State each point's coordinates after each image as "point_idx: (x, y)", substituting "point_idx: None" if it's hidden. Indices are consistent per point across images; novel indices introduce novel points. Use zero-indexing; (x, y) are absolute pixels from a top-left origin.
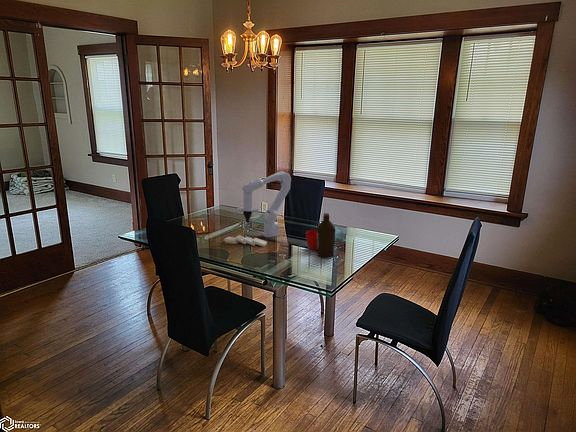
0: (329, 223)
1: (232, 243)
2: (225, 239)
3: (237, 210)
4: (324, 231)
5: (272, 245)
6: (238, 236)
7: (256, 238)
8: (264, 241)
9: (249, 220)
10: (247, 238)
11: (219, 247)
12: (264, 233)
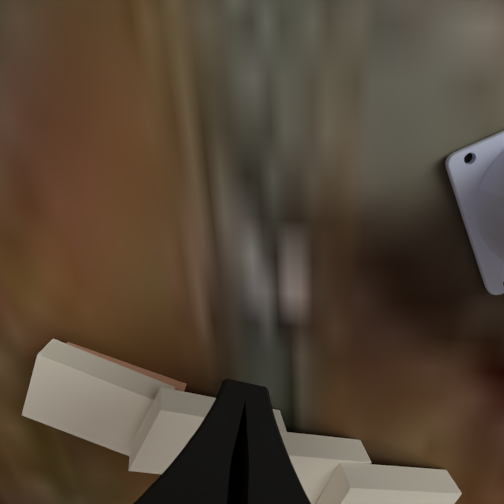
0: None
1: None
2: (37, 418)
3: None
4: None
5: (497, 498)
6: (157, 444)
7: (360, 495)
8: (436, 500)
9: (273, 413)
10: None
11: (45, 488)
12: (489, 234)
